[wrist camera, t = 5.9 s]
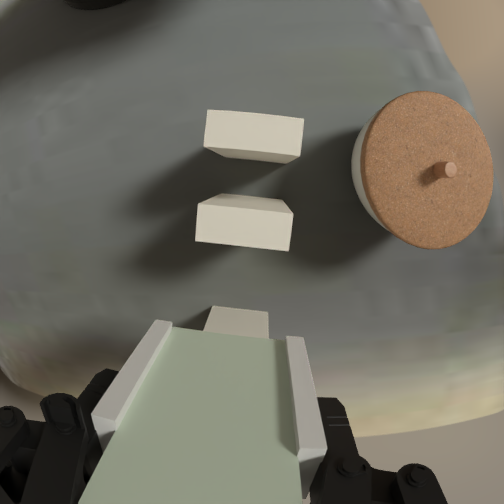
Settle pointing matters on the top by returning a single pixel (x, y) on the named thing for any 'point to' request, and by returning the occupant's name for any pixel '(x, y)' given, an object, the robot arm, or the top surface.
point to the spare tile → (205, 428)
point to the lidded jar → (423, 170)
